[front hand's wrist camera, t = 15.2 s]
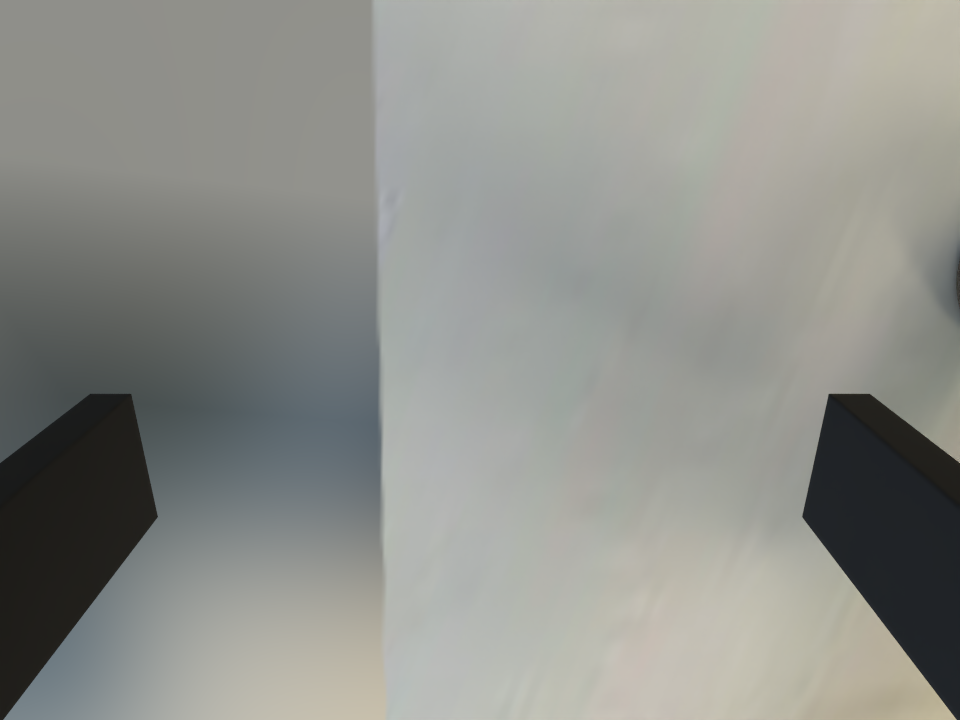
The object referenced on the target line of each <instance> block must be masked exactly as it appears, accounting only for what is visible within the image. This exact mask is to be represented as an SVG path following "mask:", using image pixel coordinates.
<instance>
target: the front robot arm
mask: <svg viewBox="0 0 960 720" xmlns="http://www.w3.org/2000/svg"><path fill="white" fill-rule="evenodd" d="M957 295H958V302H959V307H960V261H959V266H958V274H957ZM157 517H158V516H157V511H156V507H155V502H154V498H153V493H152V488H151V484H150V479H149V474H148V470H147V465H146V461H145V456H144V451H143V447H142V442H141V437H140V433H139V428H138V424H137V419H136V415H135V410H134V405H133V401H132V396H131V394H90V395H88V396H87V397H86V398H84V399H83V400H82V401H81V402H79V403H78V404H77V405H75V406H74V407H73V408H71V409H70V410H69V411H68V412H66V413H65V414H64V415H62V416H61V417H60V418H58V419H57V420H56V421H55V422H53V423H52V424H51V425H49V426H48V427H47V428H45V429H44V430H43V431H42V432H40V433H39V434H38V435H36V436H35V437H34V438H32V439H31V440H30V441H29V442H27V443H26V444H25V445H23V446H22V447H21V448H19V449H18V450H17V451H16V452H14V453H13V454H12V455H10V456H9V457H8V458H6V459H5V460H4V461H3V462H1V463H0V720H3V719H4V718H5V717H6V715H7V714H8V713H9V711H10V710H11V709H12V707H13V706H14V705H15V703H16V702H17V701H18V700H19V698H20V697H21V696H22V694H23V693H24V692H25V690H26V689H27V688H28V686H29V685H30V684H31V683H32V681H33V680H34V679H35V677H36V676H37V675H38V673H39V672H40V671H41V669H42V668H43V667H44V665H45V664H46V663H47V661H48V660H49V659H50V658H51V656H52V655H53V654H54V652H55V651H56V650H57V648H58V647H59V646H60V644H61V643H62V642H63V641H64V639H65V638H66V637H67V635H68V634H69V633H70V631H71V630H72V629H73V627H74V626H75V625H76V624H77V622H78V621H79V620H80V618H81V617H82V616H83V614H84V613H85V612H86V610H87V609H88V608H89V606H90V605H91V604H92V603H93V601H94V600H95V599H96V597H97V596H98V595H99V593H100V592H101V591H102V589H103V588H104V587H105V585H106V584H107V583H108V581H109V580H110V579H111V578H112V576H113V575H114V574H115V572H116V571H117V570H118V568H119V567H120V566H121V564H122V563H123V562H124V561H125V559H126V558H127V557H128V555H129V554H130V553H131V551H132V550H133V549H134V547H135V546H136V545H137V543H138V542H139V541H140V540H141V538H142V537H143V536H144V534H145V533H146V532H147V530H148V529H149V528H150V526H151V525H152V524H153V522H154V521H155V520H156V519H157ZM802 517H803V519H804V520H805V521H806V523H807V524H808V525H809V526H810V528H811V529H812V530H813V532H814V533H815V534H816V536H817V537H818V538H819V540H820V541H821V542H822V544H823V545H824V546H825V547H826V549H827V550H828V551H829V553H830V554H831V555H832V557H833V558H834V559H835V561H836V562H837V563H838V565H839V566H840V567H841V568H842V570H843V571H844V572H845V574H846V575H847V576H848V578H849V579H850V580H851V582H852V583H853V584H854V585H855V587H856V588H857V589H858V591H859V592H860V593H861V595H862V596H863V597H864V599H865V600H866V601H867V603H868V604H869V605H870V606H871V608H872V609H873V610H874V612H875V613H876V614H877V616H878V617H879V618H880V620H881V621H882V622H883V624H884V625H885V626H886V627H887V629H888V630H889V631H890V633H891V634H892V635H893V637H894V638H895V639H896V641H897V642H898V643H899V645H900V646H901V647H902V648H903V650H904V651H905V652H906V654H907V655H908V656H909V658H910V659H911V660H912V662H913V663H914V664H915V665H916V667H917V668H918V669H919V671H920V672H921V673H922V675H923V676H924V677H925V679H926V680H927V681H928V683H929V684H930V685H931V686H932V688H933V689H934V690H935V692H936V693H937V694H938V696H939V697H940V698H941V700H942V701H943V702H944V704H945V705H946V706H947V707H948V709H949V710H950V711H951V713H952V714H953V715H954V717H955V718H956V719H957V720H960V463H959V462H957V461H956V460H955V459H954V458H952V457H951V456H950V455H948V454H947V453H946V452H944V451H943V450H942V449H941V448H939V447H938V446H937V445H935V444H934V443H933V442H931V441H930V440H929V439H928V438H926V437H925V436H924V435H922V434H921V433H920V432H918V431H917V430H916V429H915V428H913V427H912V426H911V425H909V424H908V423H907V422H905V421H904V420H903V419H902V418H900V417H899V416H898V415H896V414H895V413H894V412H892V411H891V410H890V409H889V408H887V407H886V406H885V405H883V404H882V403H881V402H879V401H878V400H877V399H876V398H874V397H873V396H872V395H870V394H829V396H828V401H827V405H826V410H825V414H824V419H823V424H822V428H821V433H820V437H819V442H818V447H817V451H816V456H815V461H814V465H813V470H812V474H811V479H810V484H809V488H808V493H807V497H806V502H805V507H804V511H803V516H802Z"/></svg>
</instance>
